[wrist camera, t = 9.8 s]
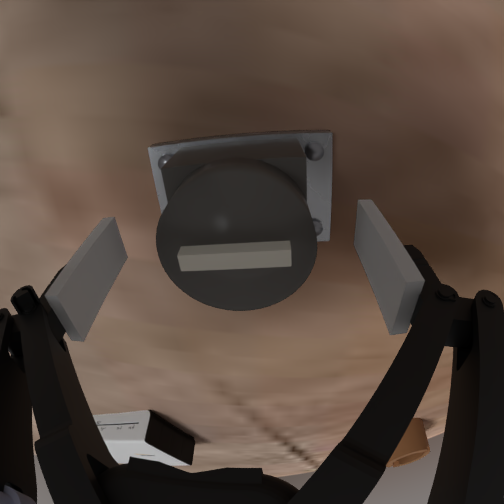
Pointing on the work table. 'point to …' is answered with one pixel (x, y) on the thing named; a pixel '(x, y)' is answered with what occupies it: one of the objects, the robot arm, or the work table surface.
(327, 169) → the mounting plate
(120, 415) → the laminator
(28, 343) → the robot arm
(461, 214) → the work table surface
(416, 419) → the bracket
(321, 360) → the work table surface
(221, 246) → the knob
